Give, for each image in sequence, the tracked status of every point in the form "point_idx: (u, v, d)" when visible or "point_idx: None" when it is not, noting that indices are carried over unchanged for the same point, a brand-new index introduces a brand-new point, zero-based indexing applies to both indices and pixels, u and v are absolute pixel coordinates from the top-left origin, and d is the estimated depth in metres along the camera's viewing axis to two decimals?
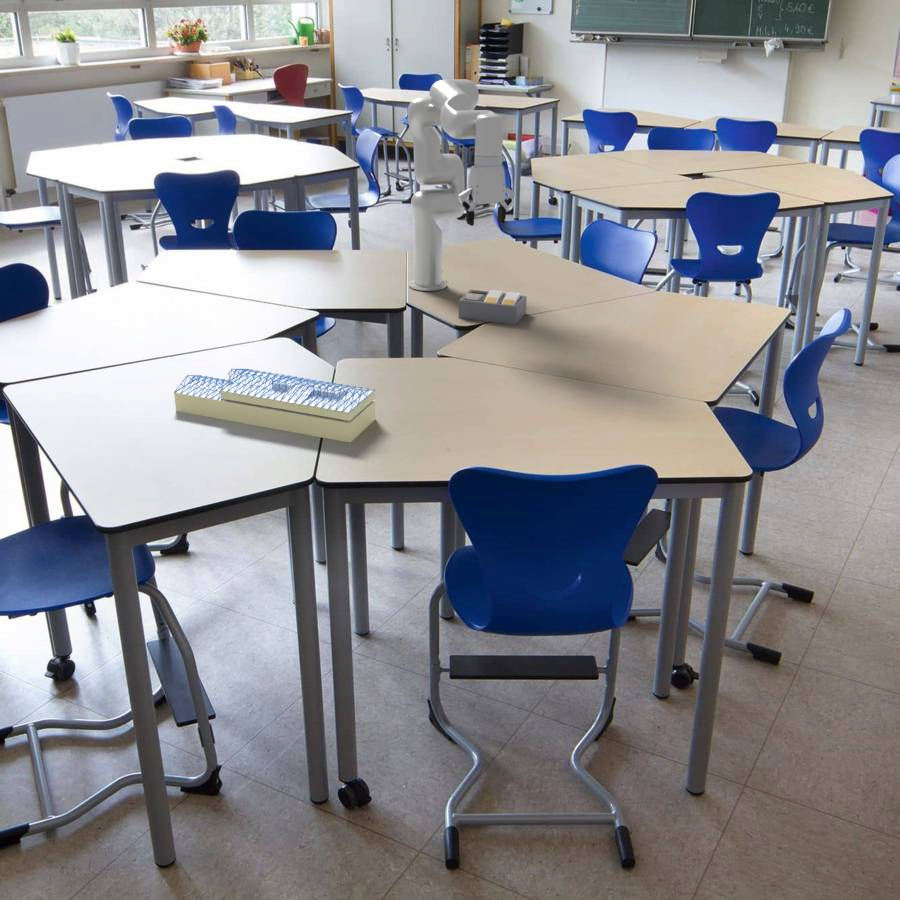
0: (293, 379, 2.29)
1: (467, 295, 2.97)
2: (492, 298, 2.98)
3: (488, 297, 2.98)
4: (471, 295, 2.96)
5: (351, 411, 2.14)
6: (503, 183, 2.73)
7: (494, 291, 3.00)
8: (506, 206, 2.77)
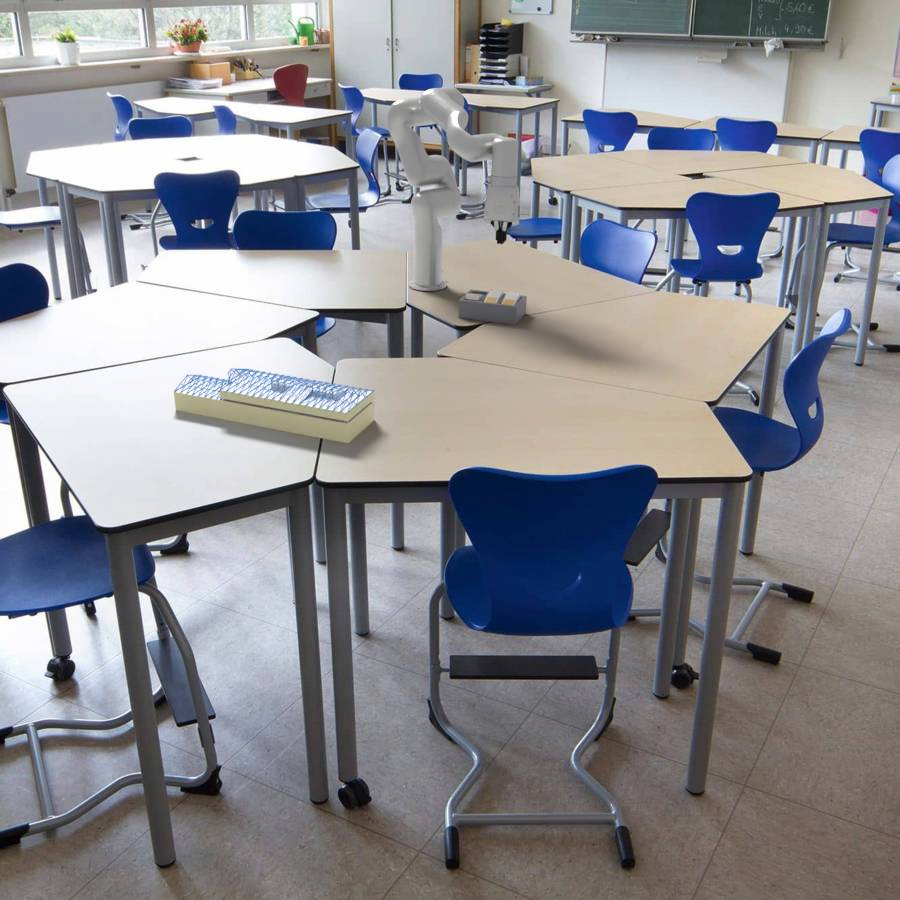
0: (292, 379, 2.29)
1: (467, 295, 2.97)
2: (492, 298, 2.98)
3: (488, 297, 2.98)
4: (471, 295, 2.96)
5: (349, 412, 2.14)
6: None
7: (494, 291, 3.00)
8: None
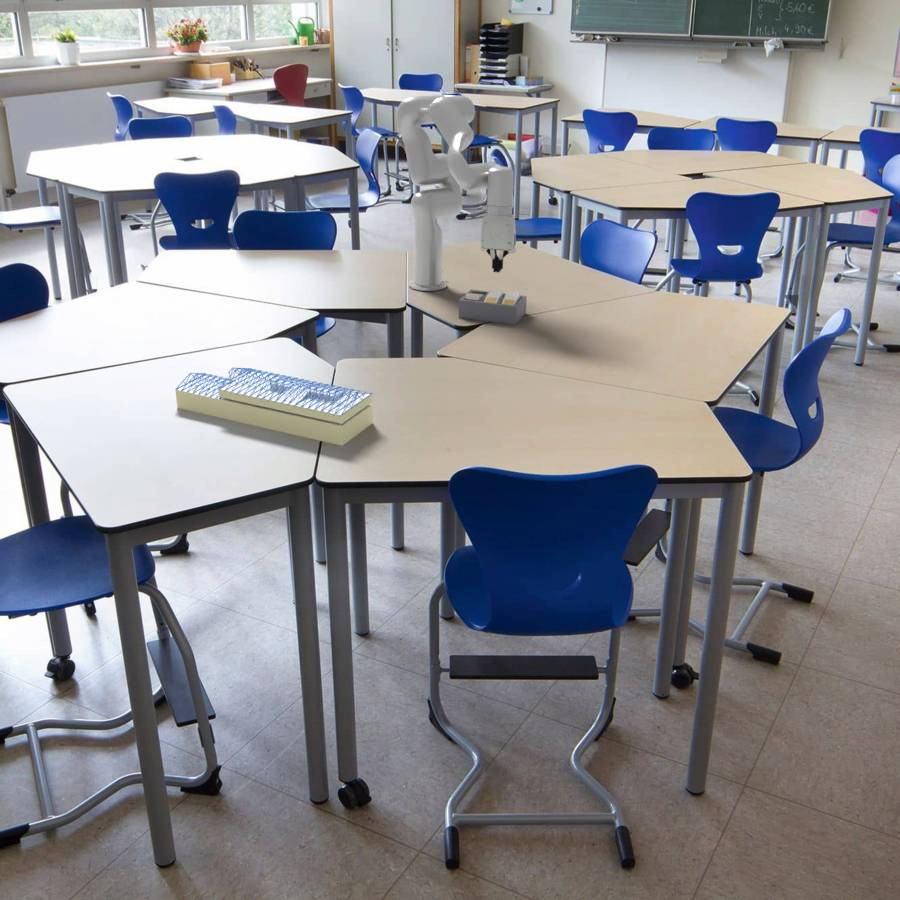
0: None
1: (467, 295, 2.97)
2: (492, 298, 2.98)
3: (488, 297, 2.98)
4: (471, 295, 2.96)
5: (343, 414, 2.13)
6: None
7: (494, 291, 3.00)
8: None
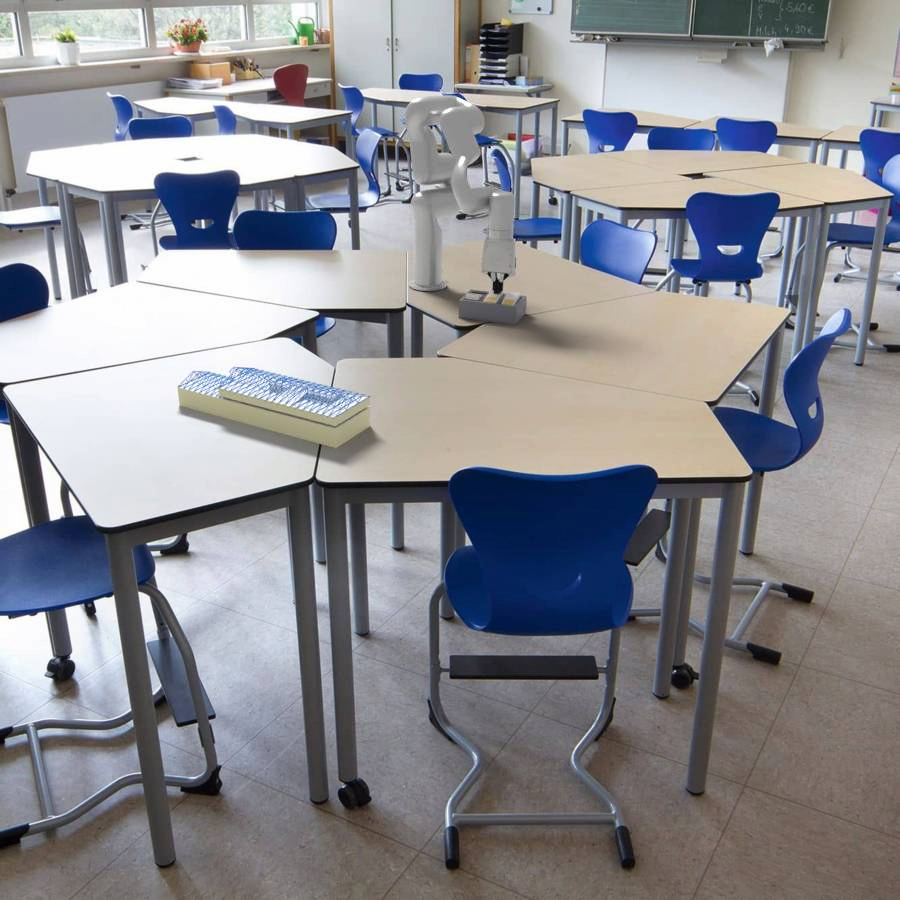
0: (293, 381, 2.28)
1: (467, 295, 2.97)
2: (493, 297, 2.98)
3: (488, 296, 2.98)
4: (471, 295, 2.96)
5: (337, 416, 2.12)
6: None
7: None
8: None
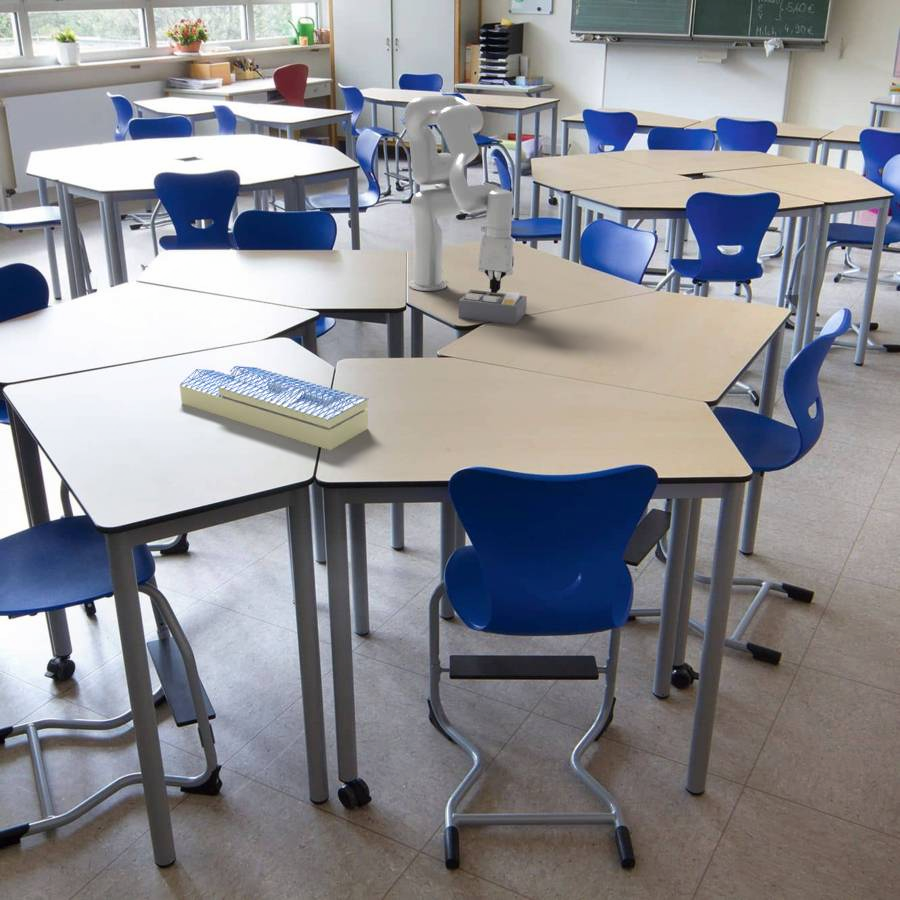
0: (293, 381, 2.28)
1: (467, 295, 2.97)
2: None
3: None
4: (471, 295, 2.96)
5: (331, 418, 2.11)
6: None
7: None
8: None
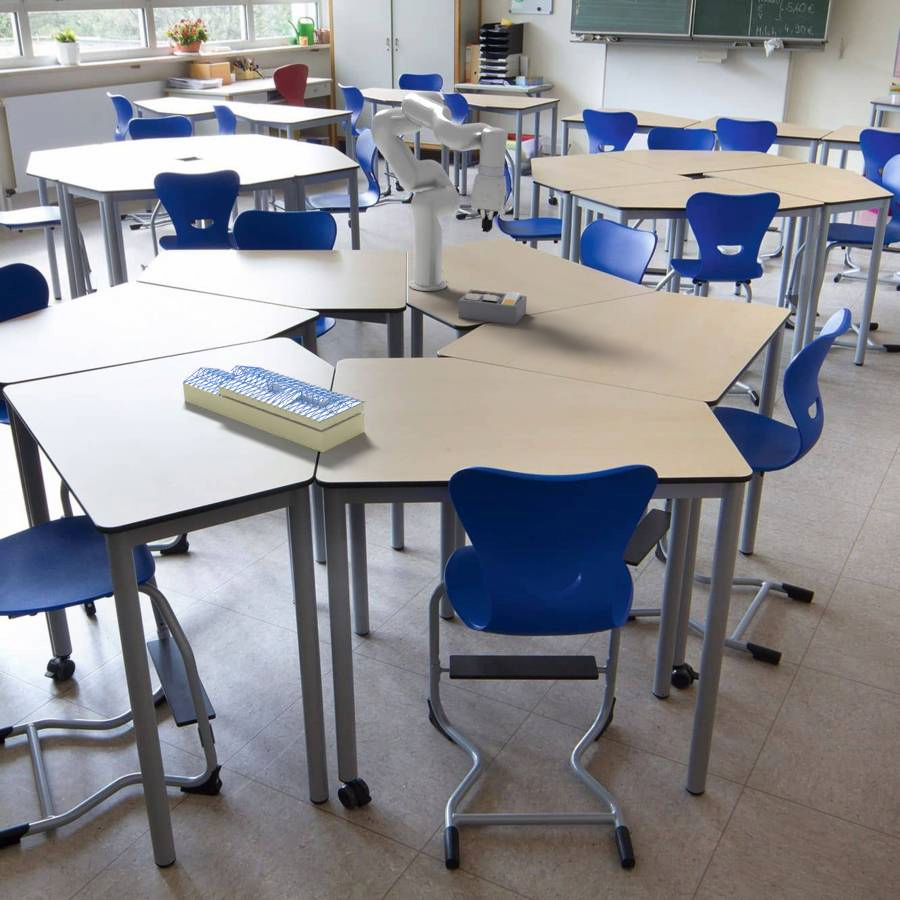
0: (292, 382, 2.28)
1: (467, 295, 2.97)
2: None
3: None
4: (471, 295, 2.96)
5: (324, 420, 2.09)
6: None
7: None
8: None
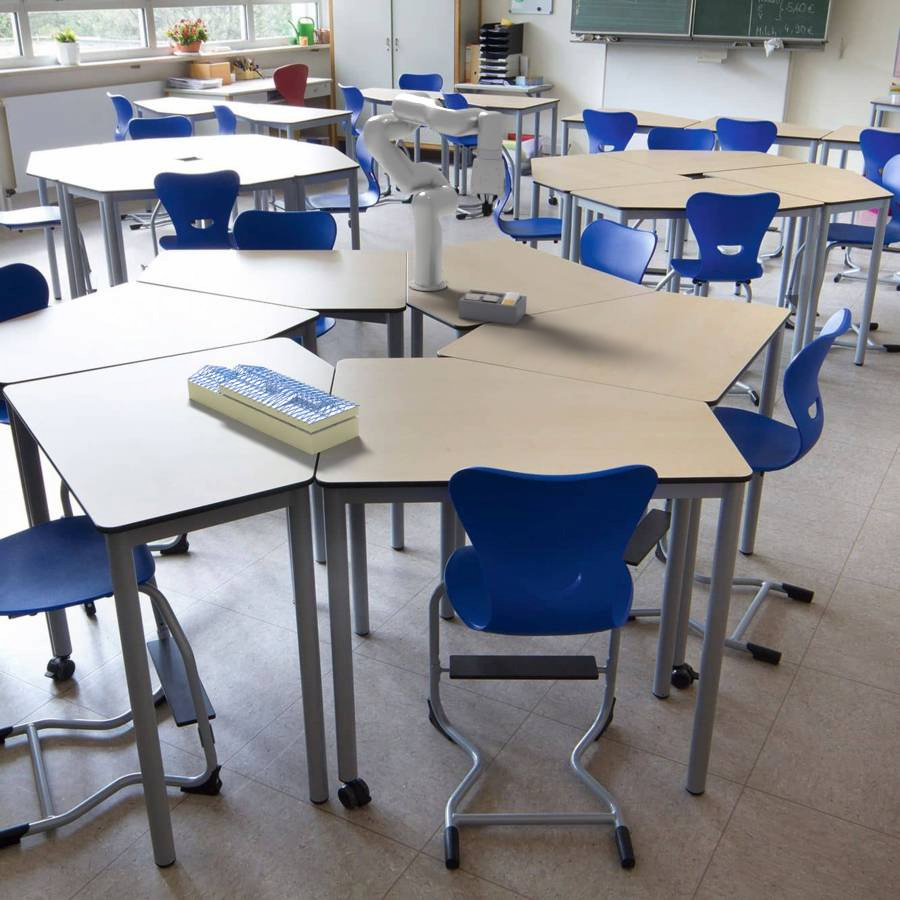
0: (292, 383, 2.27)
1: (467, 295, 2.97)
2: None
3: None
4: (471, 295, 2.96)
5: (314, 423, 2.08)
6: None
7: None
8: None
